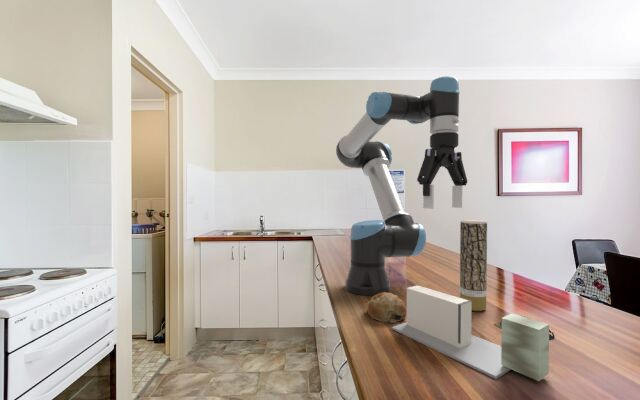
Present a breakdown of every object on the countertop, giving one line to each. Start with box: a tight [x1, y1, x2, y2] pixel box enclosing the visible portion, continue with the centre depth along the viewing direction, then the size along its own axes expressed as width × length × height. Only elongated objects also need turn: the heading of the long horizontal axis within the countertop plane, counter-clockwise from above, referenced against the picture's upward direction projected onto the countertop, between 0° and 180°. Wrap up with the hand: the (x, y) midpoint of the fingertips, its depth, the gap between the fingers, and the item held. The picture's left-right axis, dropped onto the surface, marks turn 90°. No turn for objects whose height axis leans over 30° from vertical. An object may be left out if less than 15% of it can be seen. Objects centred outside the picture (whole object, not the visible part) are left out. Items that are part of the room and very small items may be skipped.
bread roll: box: [366, 292, 407, 324], centre depth 81 cm, size 10×10×8 cm
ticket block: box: [391, 285, 512, 380], centre depth 66 cm, size 24×12×10 cm, turn 34°
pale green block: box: [500, 313, 550, 382], centre depth 54 cm, size 6×4×9 cm, turn 34°
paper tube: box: [459, 219, 488, 312], centre depth 87 cm, size 7×7×25 cm
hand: (443, 208), depth 87 cm, fingers open, 13 cm apart
